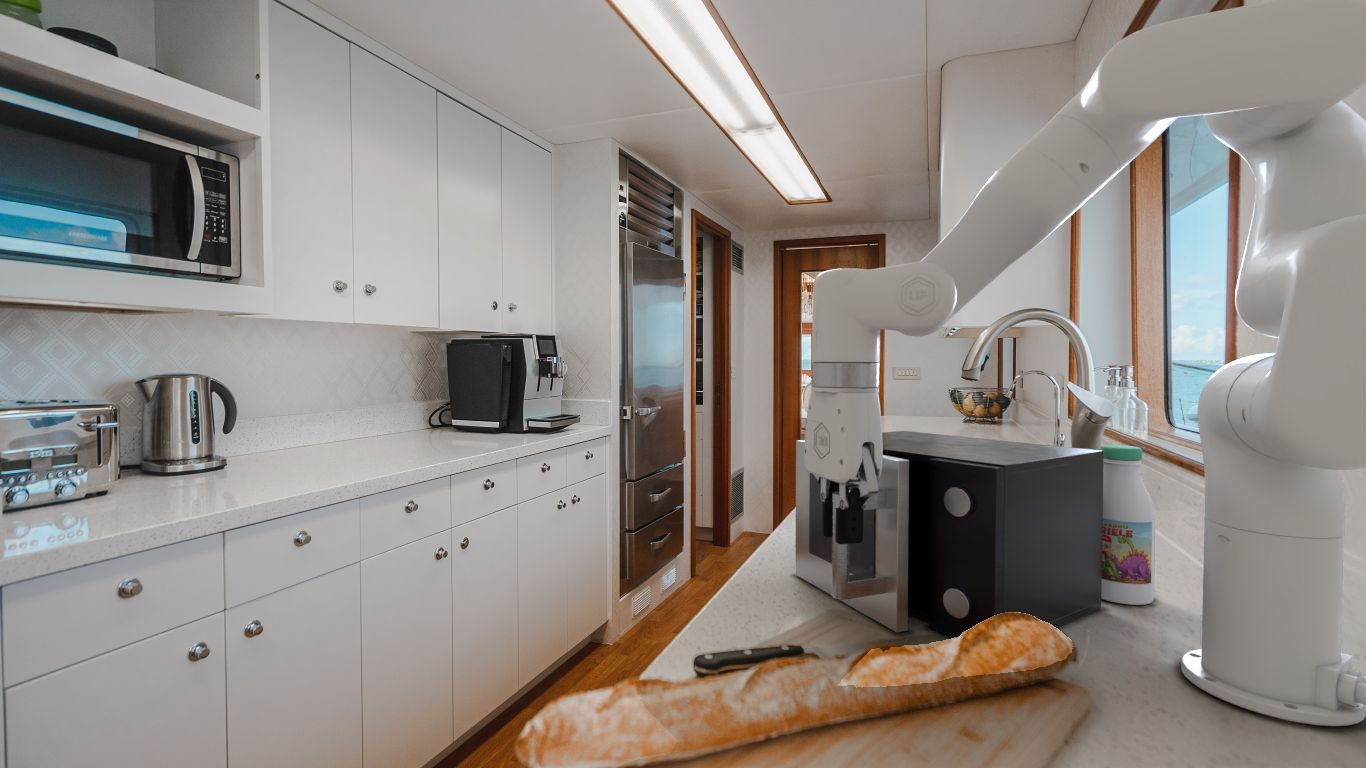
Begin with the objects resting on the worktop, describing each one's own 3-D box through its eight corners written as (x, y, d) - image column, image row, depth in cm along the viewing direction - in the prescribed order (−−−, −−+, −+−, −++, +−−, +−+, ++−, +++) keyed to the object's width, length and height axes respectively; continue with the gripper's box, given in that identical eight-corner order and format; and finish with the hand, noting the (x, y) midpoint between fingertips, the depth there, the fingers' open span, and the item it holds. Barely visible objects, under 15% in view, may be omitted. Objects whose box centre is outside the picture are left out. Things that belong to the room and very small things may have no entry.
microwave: (989, 656, 66) (991, 467, 65) (793, 576, 91) (793, 439, 90) (1101, 608, 79) (1103, 450, 78) (902, 550, 104) (903, 430, 103)
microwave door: (849, 642, 69) (850, 463, 68) (755, 580, 89) (756, 442, 88) (907, 630, 72) (909, 459, 71) (804, 573, 92) (805, 439, 91)
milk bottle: (1091, 581, 89) (1094, 441, 88) (1159, 595, 83) (1162, 446, 83) (1077, 595, 83) (1079, 446, 83) (1148, 611, 78) (1151, 451, 77)
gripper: (784, 377, 78) (782, 524, 78) (853, 380, 63) (850, 563, 63) (838, 378, 80) (835, 520, 81) (917, 381, 65) (914, 557, 65)
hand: (842, 538), depth 72 cm, fingers closed on microwave door, 2 cm apart
